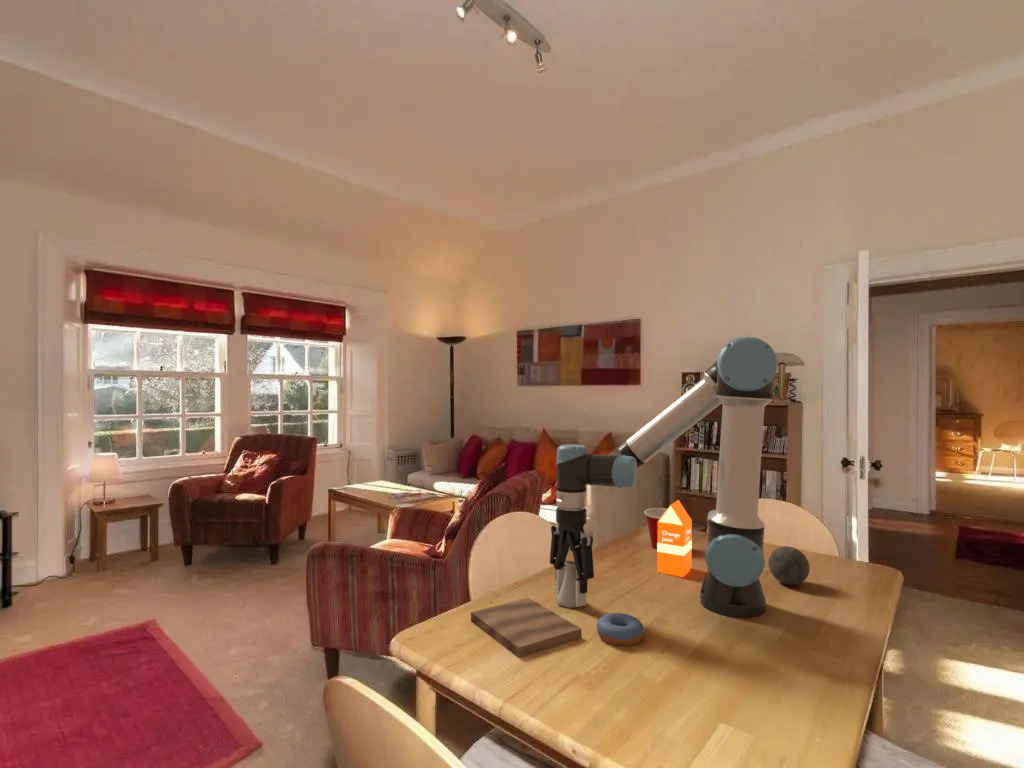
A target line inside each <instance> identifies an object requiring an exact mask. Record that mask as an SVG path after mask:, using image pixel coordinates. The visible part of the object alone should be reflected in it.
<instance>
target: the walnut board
mask: <svg viewBox="0 0 1024 768" xmlns="http://www.w3.org/2000/svg"><path fill="white" fill-rule="evenodd" d="M470 622H471V623H473V624H474V625H475V626H476V627H478V628H480V629H481V630H482V631H483V632H484V633H486V634H487V635H488V636H490V637H491V638H492V639H493V640H495V641H497V642H498V644H501V645H502V647H504V648H505V649H506V650H508V651H509V652H511V654H513V655H514V656H516V657H517V658H519V659H520V658H522V657H525V656H529V655H531V654H534V653H538V651H539V652H541V650H542V651H545V650H548V649H551V648H554V646H555V647H557V645H558V646H561V645H564V644H567V643H570V642H573V640H574V641H577V640H579V638H580V639H582V628H581V627H579V626H578V625H577V624H575V623H572V622H571V621H569V620H567V619H566V618H564V617H562V616H560V615H559V614H557V613H556V612H554V611H552V610H550V609H549V608H547V607H546V606H544V605H541V604H540V603H539V602H537V601H534V600H533V599H531V598H530V597H526V598H522V599H519V600H515V601H510V602H506V603H501V604H498V605H494V606H490V607H486V608H483V609H482V608H481V609H478V610H474V611H471V612H470ZM576 639H577V640H576ZM566 642H567V643H566ZM563 643H564V644H563ZM560 644H561V645H560ZM550 647H551V648H550ZM544 649H545V650H544Z"/></svg>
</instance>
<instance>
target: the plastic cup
mask: <svg viewBox="0 0 1024 768" xmlns="http://www.w3.org/2000/svg"><path fill="white" fill-rule="evenodd" d="M667 509H668V508H664V507H652V508H647V509H645V510H644V516H646V520H647V526H648V531H649V538H650V544H651V546H652V547H651V548H653V547H654V549H655V548H656V550H657V543H658V521H659V519H660V518H661V517H662V515H663V514H664V513H665V511H666V510H667Z"/></svg>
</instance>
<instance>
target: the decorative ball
mask: <svg viewBox="0 0 1024 768" xmlns="http://www.w3.org/2000/svg"><path fill="white" fill-rule="evenodd" d="M768 569H769V571H770V573H771V575H772V576H773V578H775V579H776V580H777V581H778V582H780V583H782V584H785V585H789V586H796V585H799V584H801V583H803V582H804V581H806V579H807V578H808V576H809V574H810V562H809V560H808V558H807V557H806V555H805V554H804V553H803V552H802V551H801V550H799V549H797V548H795V547H792V546H785V545H784V546H779V547H778V548H775V549H774V550H772V552H771V554H770V555H769V557H768Z"/></svg>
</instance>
